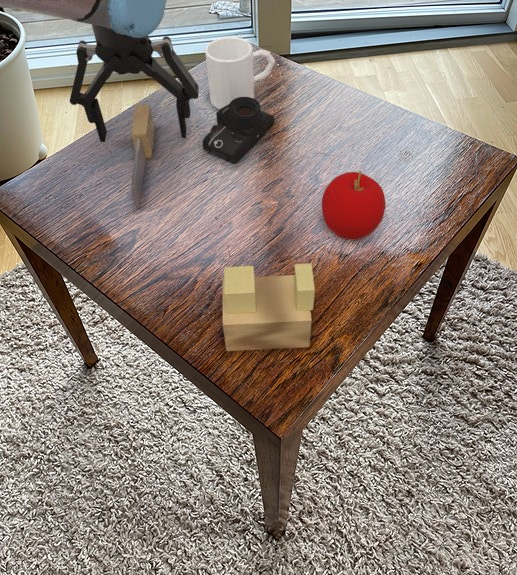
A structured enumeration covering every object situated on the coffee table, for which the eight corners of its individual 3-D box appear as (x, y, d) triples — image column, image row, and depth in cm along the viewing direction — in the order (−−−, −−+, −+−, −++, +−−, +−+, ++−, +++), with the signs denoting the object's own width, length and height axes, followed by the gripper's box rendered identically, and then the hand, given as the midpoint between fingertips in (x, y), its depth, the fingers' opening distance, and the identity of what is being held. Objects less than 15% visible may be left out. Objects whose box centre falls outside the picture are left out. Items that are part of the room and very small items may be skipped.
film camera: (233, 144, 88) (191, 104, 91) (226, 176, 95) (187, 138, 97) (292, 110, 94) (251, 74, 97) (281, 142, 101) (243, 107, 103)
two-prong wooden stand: (226, 351, 72) (222, 324, 67) (225, 306, 76) (222, 278, 72) (309, 347, 72) (311, 320, 67) (304, 302, 76) (306, 274, 72)
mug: (278, 107, 103) (278, 56, 96) (211, 113, 103) (206, 63, 95) (272, 82, 108) (272, 32, 101) (209, 88, 108) (203, 38, 100)
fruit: (393, 234, 83) (405, 182, 76) (342, 258, 81) (349, 207, 73) (356, 197, 89) (364, 144, 81) (307, 218, 86) (310, 166, 78)
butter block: (226, 314, 68) (224, 293, 65) (226, 287, 71) (224, 266, 68) (256, 312, 68) (255, 292, 65) (254, 286, 71) (253, 265, 68)
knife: (141, 129, 101) (135, 104, 97) (154, 128, 101) (149, 104, 97) (130, 209, 88) (123, 185, 84) (146, 208, 88) (139, 184, 84)
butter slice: (296, 311, 68) (297, 290, 65) (293, 284, 71) (294, 263, 68) (313, 310, 68) (314, 289, 65) (310, 284, 71) (311, 263, 68)
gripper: (205, -7, 82) (217, 117, 99) (32, 1, 82) (73, 125, 99) (204, 19, 78) (217, 145, 94) (20, 27, 78) (66, 152, 94)
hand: (144, 135), depth 97 cm, fingers open, 13 cm apart
